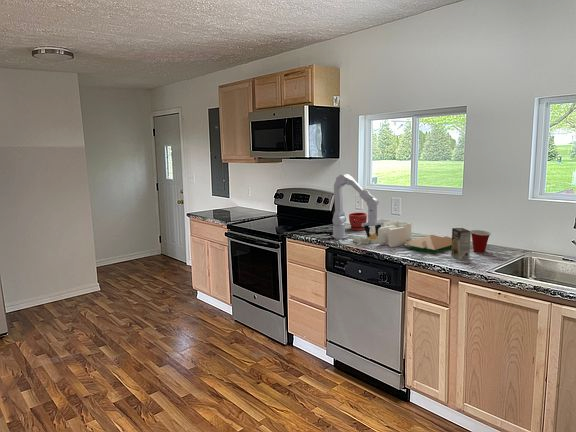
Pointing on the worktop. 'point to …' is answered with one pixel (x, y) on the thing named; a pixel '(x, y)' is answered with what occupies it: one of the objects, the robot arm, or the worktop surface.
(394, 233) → the cable organizer
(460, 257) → the coffee box
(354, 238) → the clip
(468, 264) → the worktop surface
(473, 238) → the plastic cup
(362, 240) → the clip
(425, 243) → the house
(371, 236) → the orange block
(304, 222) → the worktop surface
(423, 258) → the worktop surface
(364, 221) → the plant pot
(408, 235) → the white slotted rack
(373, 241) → the frame
